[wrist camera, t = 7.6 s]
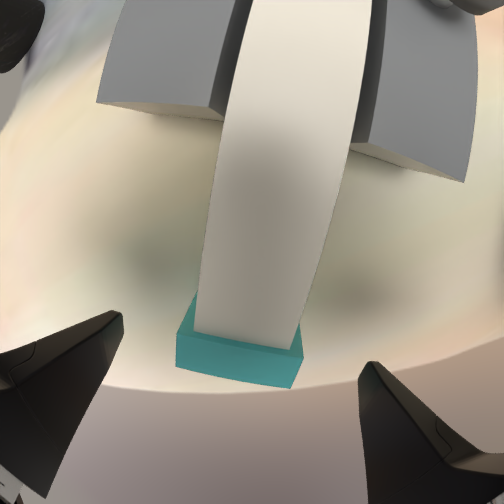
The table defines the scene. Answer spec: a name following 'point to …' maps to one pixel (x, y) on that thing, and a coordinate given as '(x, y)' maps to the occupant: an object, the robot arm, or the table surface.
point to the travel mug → (18, 29)
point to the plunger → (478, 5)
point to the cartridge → (275, 187)
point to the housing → (372, 87)
